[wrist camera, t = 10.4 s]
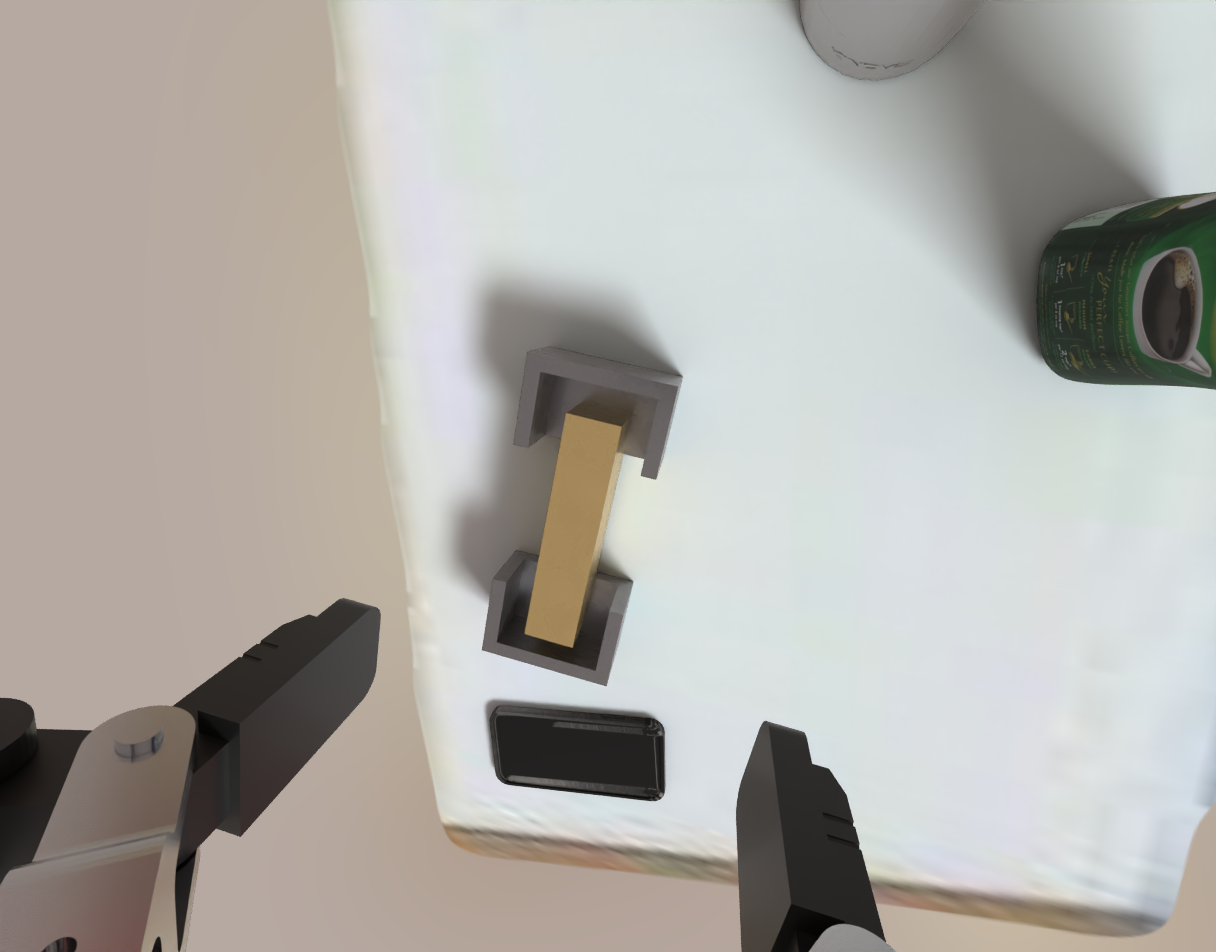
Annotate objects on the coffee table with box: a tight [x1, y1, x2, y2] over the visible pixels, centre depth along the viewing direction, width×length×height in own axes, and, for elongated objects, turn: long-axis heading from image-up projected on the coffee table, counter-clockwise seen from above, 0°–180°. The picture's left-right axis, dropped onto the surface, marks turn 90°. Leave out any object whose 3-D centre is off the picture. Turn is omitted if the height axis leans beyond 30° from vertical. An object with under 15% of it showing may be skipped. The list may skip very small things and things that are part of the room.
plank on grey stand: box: [482, 347, 683, 686], centre depth 41 cm, size 22×10×5 cm, turn 169°
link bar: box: [525, 400, 633, 648], centre depth 40 cm, size 16×4×5 cm, turn 168°
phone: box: [490, 705, 665, 801], centre depth 49 cm, size 8×1×15 cm
